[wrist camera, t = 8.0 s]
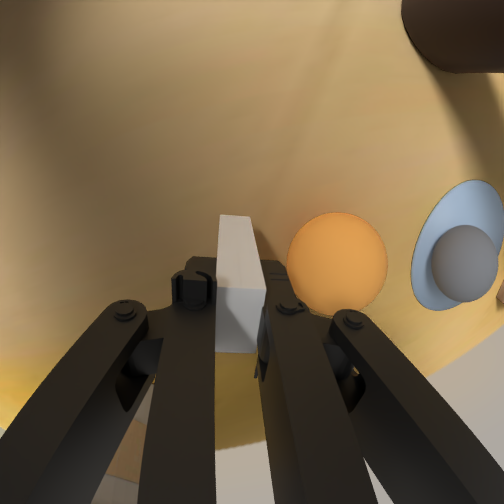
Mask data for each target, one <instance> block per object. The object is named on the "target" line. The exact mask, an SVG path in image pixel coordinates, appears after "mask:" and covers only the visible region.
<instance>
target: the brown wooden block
mask: <svg viewBox="0 0 504 504" xmlns="http://www.w3.org/2000/svg"><path fill="white" fill-rule="evenodd" d="M496 297H497V298H498V299H499V300H500V301H501V302H502V303H503V304H504V281H503V283H502V285H501V288H500V290H499V292H498V294H497V296H496Z"/></svg>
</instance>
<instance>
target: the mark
mask: <svg viewBox="0 0 504 504" xmlns="http://www.w3.org/2000/svg"><path fill="white" fill-rule="evenodd" d="M459 225H471V226H475V227H477V228H479V229H481V230H483V231H484V232H485V233H486V234H487V235H488V236H489V237H490V238H491V240H492V241H493V243H494V245H495V248H496V251H497V255H499V252H500V249H501V246H502V242H503V236H504V209H503V204H502V202H501V199H500V197H499V195H498V193H497V192H496V190H495V189H494V188H493V187H492V186H491V185H489V184H488V183H486V182H484V181H480V180H469V181H465V182H463V183H460V184H459V185H457V186H455V187H454V188H452V189H451V190H450V191H449V192H447V193H446V194H445V195H444V196H443V197H442V198H441V200H440V201H439V202H438V203H437V205H436V206H435V207H434V209H433V210H432V212H431V213H430V215H429V216H428V218H427V220H426V222H425V224H424V226H423V228H422V230H421V232H420V235H419V237H418V240H417V243H416V246H415V250H414V253H413V258H412V264H411V283H412V288H413V291H414V294H415V296H416V298H417V300H418V301H419V302H420V303H421V304H422V305H423V306H424V307H426V308H428V309H430V310H435V311H442V310H447V309H450V308H453V307H455V306H457V305H459V304H461V303H462V302H457V301H454V300H451V299H449V298H448V297H446V296H445V295H444V294H443V293H442V292H441V291H440V290H439V288H438V287H437V285H436V283H435V281H434V278H433V274H432V268H431V260H432V254H433V250H434V248H435V245H436V243H437V242H438V240H439V239H440V237H441V236H442V235H443V234H444V233H445V232H446V231H448V230H449V229H451V228H453V227H455V226H459Z"/></svg>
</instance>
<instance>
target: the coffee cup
mask: <svg viewBox="0 0 504 504" xmlns="http://www.w3.org/2000/svg"><path fill="white" fill-rule="evenodd" d="M153 388H154V384H151V386H150V388H149V389H148V391H147V393H146V395H145V397H144V399H143V401H142V403H141V405H140V406H139V408H138V410H137V412H136V414H135V416H134V418H133V420H132V422H131V424H130V426H129V428H128V430H127V431H126V433H125V435H124V437H123V439H122V441H121V443H120V445H119V447H118V449H117V451H116V453H115V455H114V457H113V459H112V461H111V463H110V465H109V467H108V469H107V471H106V473H105V475H104V477H103V479H102V481H101V483H100V485H99V487H98V489H97V491H96V494H95V496H94V498H93V500H92V502H91V504H137V498H138V488H139V479H140V471H141V463H142V455H143V448H144V441H145V434H146V428H147V422H148V416H149V410H150V404H151V399H152V393H153Z"/></svg>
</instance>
